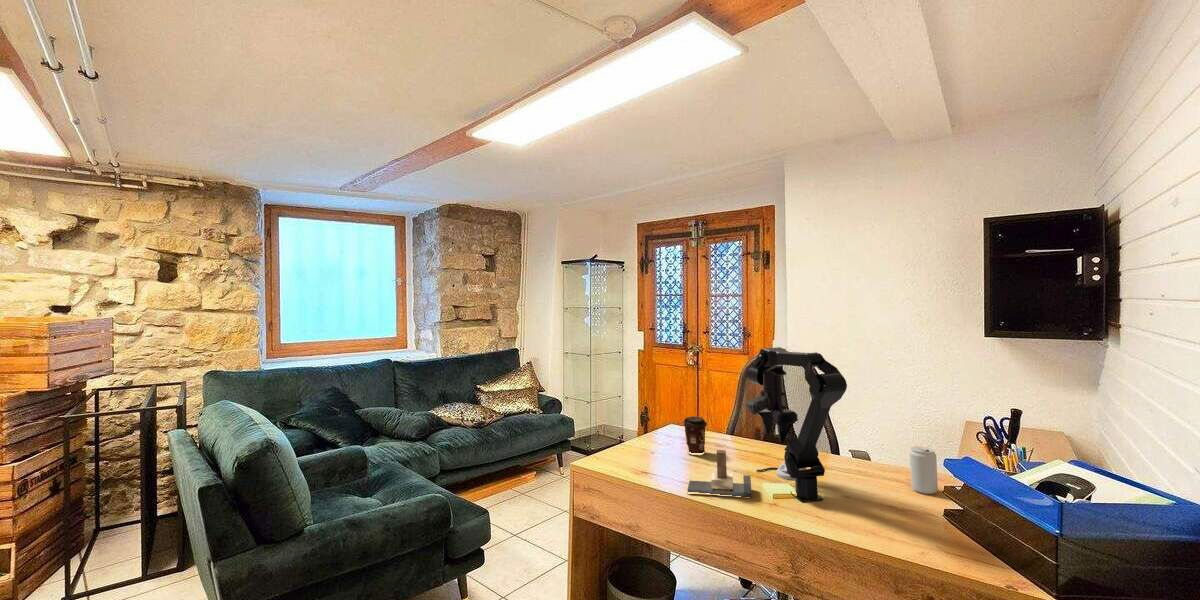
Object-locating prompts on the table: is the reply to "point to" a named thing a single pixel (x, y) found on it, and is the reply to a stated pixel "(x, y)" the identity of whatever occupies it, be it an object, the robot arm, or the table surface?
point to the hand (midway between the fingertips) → (774, 438)
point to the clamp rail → (738, 489)
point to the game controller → (782, 471)
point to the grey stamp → (722, 473)
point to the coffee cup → (695, 434)
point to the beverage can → (923, 470)
